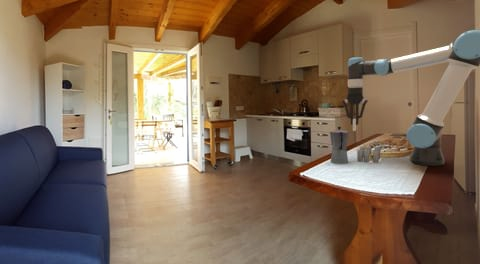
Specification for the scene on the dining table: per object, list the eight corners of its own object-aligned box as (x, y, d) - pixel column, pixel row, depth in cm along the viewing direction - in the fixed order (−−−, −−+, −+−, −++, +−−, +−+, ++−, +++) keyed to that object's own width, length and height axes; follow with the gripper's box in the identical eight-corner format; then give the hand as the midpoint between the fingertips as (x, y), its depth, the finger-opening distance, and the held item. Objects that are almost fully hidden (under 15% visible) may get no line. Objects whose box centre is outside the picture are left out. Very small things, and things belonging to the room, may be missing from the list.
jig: (381, 159, 162) (381, 147, 161) (379, 165, 151) (379, 151, 150) (360, 158, 167) (360, 146, 166) (356, 163, 156) (357, 150, 156)
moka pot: (345, 160, 164) (345, 124, 161) (353, 167, 149) (353, 128, 146) (327, 160, 165) (327, 125, 162) (333, 167, 150) (333, 129, 147)
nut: (372, 158, 161) (372, 153, 160) (373, 160, 156) (373, 155, 156) (363, 158, 162) (363, 153, 162) (364, 160, 158) (364, 155, 157)
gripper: (369, 86, 158) (368, 130, 161) (343, 87, 164) (343, 129, 167) (367, 86, 151) (366, 132, 154) (341, 87, 158) (340, 131, 161)
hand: (354, 130), depth 161 cm, fingers closed
